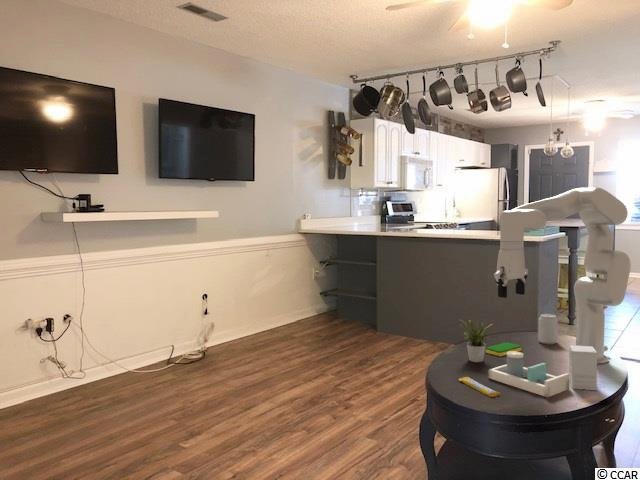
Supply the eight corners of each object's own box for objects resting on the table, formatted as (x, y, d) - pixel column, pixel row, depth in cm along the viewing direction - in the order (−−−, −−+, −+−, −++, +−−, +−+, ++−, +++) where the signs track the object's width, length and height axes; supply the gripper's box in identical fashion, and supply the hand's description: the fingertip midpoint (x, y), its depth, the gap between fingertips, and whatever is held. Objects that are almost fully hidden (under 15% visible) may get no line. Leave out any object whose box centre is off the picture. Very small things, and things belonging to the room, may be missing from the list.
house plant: (446, 360, 199) (446, 318, 198) (463, 352, 209) (464, 312, 208) (481, 368, 189) (482, 324, 188) (497, 359, 199) (498, 317, 198)
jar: (512, 375, 180) (513, 350, 180) (526, 379, 176) (526, 353, 175) (503, 378, 177) (503, 353, 177) (516, 383, 173) (517, 356, 172)
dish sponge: (521, 351, 210) (521, 345, 210) (499, 357, 203) (499, 351, 203) (506, 347, 216) (506, 341, 216) (485, 353, 209) (485, 347, 208)
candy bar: (502, 397, 162) (502, 391, 162) (491, 399, 160) (491, 393, 160) (468, 380, 177) (468, 375, 177) (458, 382, 176) (458, 377, 176)
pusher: (542, 382, 172) (543, 362, 172) (557, 387, 168) (557, 366, 167) (527, 387, 168) (527, 367, 167) (542, 392, 163) (542, 371, 163)
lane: (510, 371, 185) (510, 357, 184) (569, 389, 167) (569, 373, 166) (488, 378, 178) (488, 363, 178) (547, 397, 160) (547, 381, 160)
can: (540, 344, 218) (541, 316, 217) (536, 339, 226) (536, 312, 225) (559, 345, 217) (560, 317, 216) (554, 340, 224) (555, 313, 224)
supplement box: (592, 383, 171) (593, 346, 170) (596, 391, 164) (597, 352, 163) (568, 381, 174) (569, 344, 173) (571, 388, 167) (572, 350, 166)
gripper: (517, 244, 185) (517, 291, 186) (486, 247, 175) (486, 297, 176) (536, 245, 179) (536, 294, 180) (505, 248, 169) (504, 300, 170)
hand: (511, 295), depth 178 cm, fingers open, 9 cm apart
